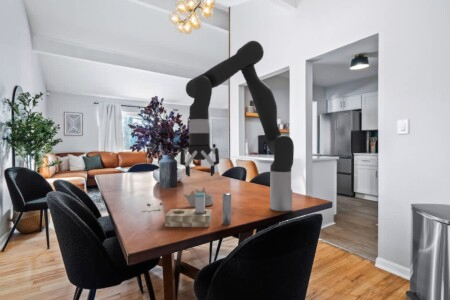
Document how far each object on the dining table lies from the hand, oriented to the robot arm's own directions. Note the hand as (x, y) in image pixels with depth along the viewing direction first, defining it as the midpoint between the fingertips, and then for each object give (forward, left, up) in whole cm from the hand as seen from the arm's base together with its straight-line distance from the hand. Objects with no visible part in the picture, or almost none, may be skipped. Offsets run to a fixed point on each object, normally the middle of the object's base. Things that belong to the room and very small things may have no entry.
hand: (200, 176), depth 88 cm
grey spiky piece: (+3, -28, -18) cm, 33 cm away
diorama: (+25, -26, -18) cm, 41 cm away
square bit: (0, 0, -18) cm, 18 cm away
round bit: (-10, 0, -18) cm, 20 cm away
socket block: (+4, 0, -18) cm, 18 cm away
